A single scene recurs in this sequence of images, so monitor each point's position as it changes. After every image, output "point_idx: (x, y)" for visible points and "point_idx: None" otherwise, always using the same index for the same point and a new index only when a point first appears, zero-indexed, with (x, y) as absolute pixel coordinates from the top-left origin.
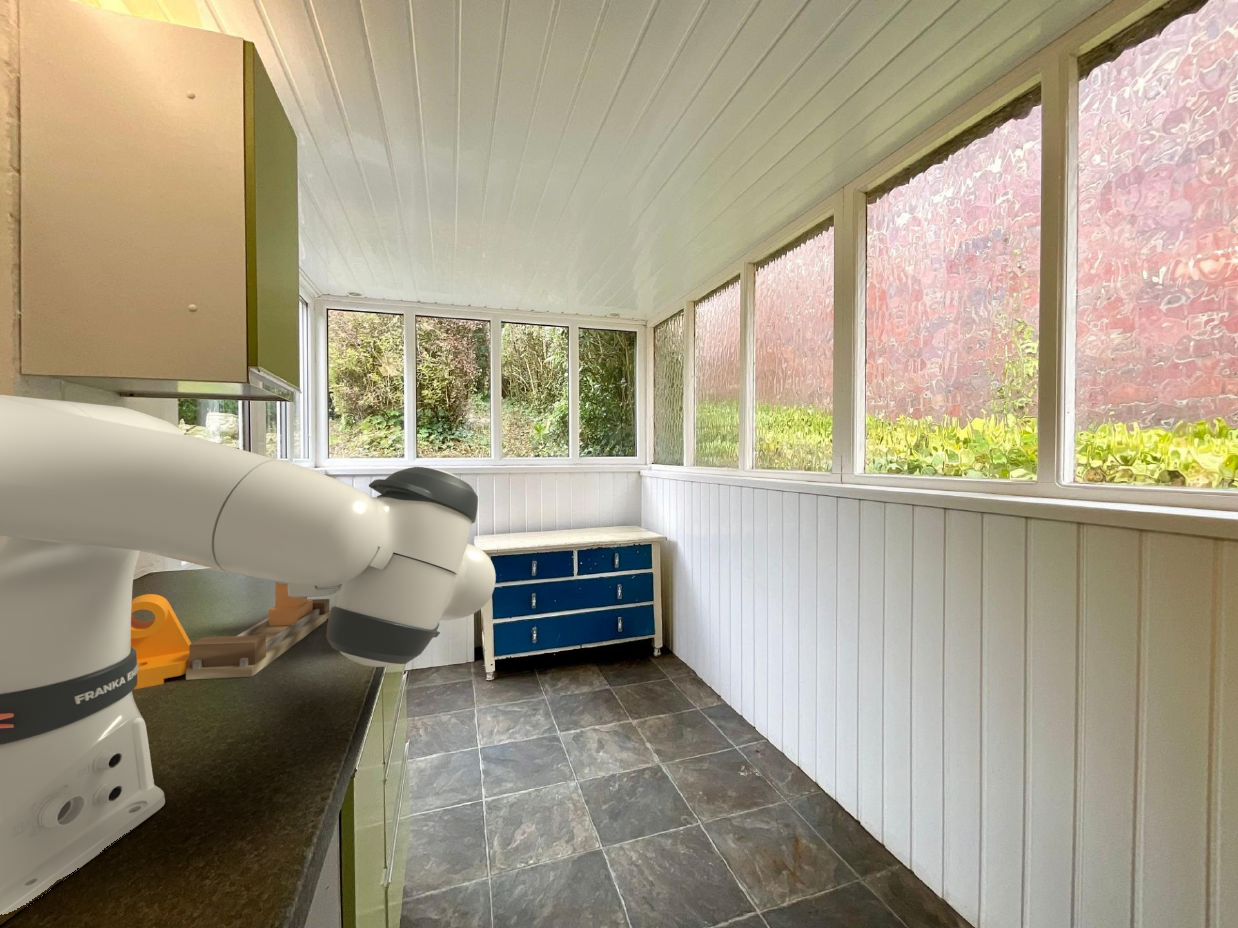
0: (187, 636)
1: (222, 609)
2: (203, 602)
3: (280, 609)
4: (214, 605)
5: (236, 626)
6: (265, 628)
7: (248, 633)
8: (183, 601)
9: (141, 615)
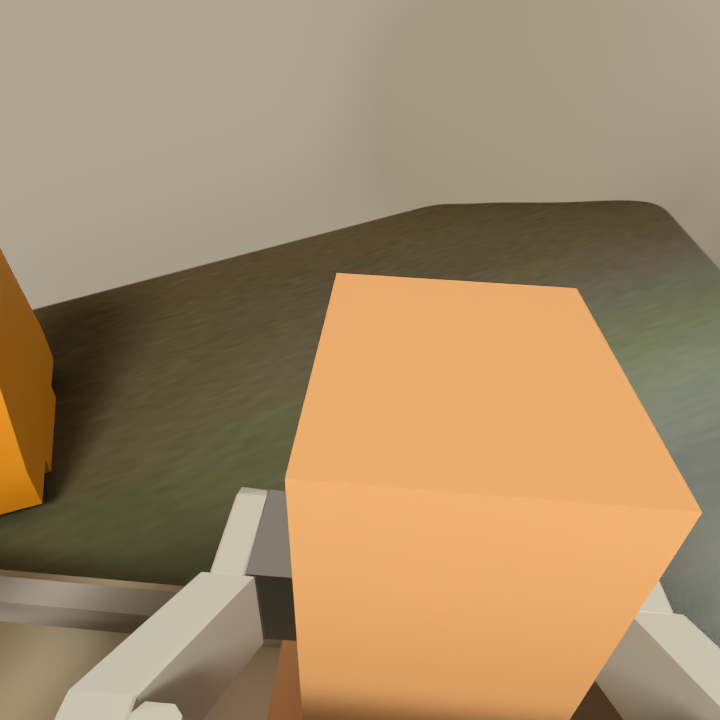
0: (12, 428)
1: (636, 381)
2: (683, 323)
3: (280, 681)
4: (668, 351)
5: None
6: (268, 653)
7: (111, 617)
8: (673, 291)
9: (543, 275)
